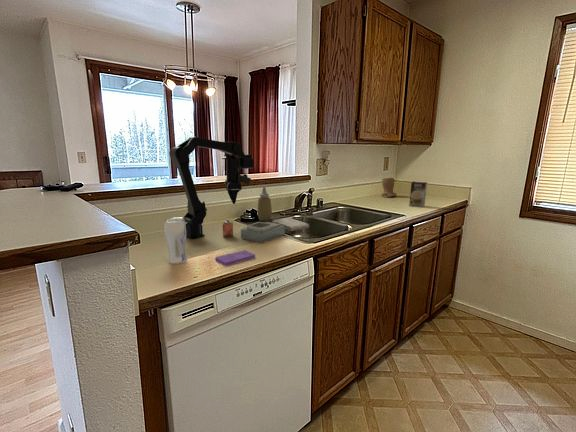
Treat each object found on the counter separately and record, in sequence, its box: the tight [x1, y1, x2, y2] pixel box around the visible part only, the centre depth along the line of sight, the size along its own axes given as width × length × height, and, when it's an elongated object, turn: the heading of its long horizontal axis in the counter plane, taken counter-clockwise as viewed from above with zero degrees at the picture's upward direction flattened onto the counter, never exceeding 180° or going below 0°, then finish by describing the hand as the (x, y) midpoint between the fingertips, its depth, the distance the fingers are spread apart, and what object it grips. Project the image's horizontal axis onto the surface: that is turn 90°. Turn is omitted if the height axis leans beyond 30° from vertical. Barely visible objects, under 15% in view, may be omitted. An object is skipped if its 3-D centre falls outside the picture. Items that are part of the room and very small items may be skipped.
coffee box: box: [408, 180, 428, 208], centre depth 208 cm, size 9×6×16 cm
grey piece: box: [240, 221, 286, 244], centre depth 140 cm, size 19×12×6 cm, turn 145°
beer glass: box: [163, 217, 188, 265], centre depth 108 cm, size 7×7×15 cm
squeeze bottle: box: [257, 186, 273, 222], centre depth 168 cm, size 8×8×18 cm
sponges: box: [214, 249, 256, 267], centre depth 112 cm, size 7×13×2 cm, turn 130°
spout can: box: [222, 218, 234, 239], centre depth 139 cm, size 5×5×8 cm
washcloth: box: [271, 217, 310, 232], centre depth 158 cm, size 12×18×3 cm, turn 37°
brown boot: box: [380, 177, 398, 198], centre depth 248 cm, size 15×12×15 cm
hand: (233, 202), depth 149 cm, fingers open, 9 cm apart
